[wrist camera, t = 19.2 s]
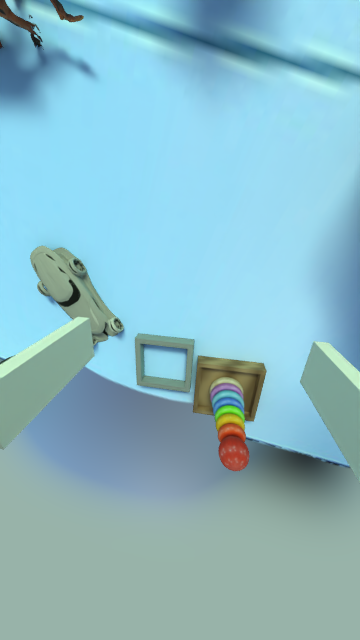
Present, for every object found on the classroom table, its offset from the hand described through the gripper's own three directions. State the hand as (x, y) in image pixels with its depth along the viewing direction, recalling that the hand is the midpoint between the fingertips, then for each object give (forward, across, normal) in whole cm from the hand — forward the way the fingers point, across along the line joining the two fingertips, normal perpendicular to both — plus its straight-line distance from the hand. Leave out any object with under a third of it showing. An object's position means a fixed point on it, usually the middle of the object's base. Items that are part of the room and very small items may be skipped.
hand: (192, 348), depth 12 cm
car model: (+32, -28, -8) cm, 44 cm away
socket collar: (+32, -8, -23) cm, 40 cm away
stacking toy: (+31, +7, -28) cm, 42 cm away
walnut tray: (+32, +8, -28) cm, 43 cm away
